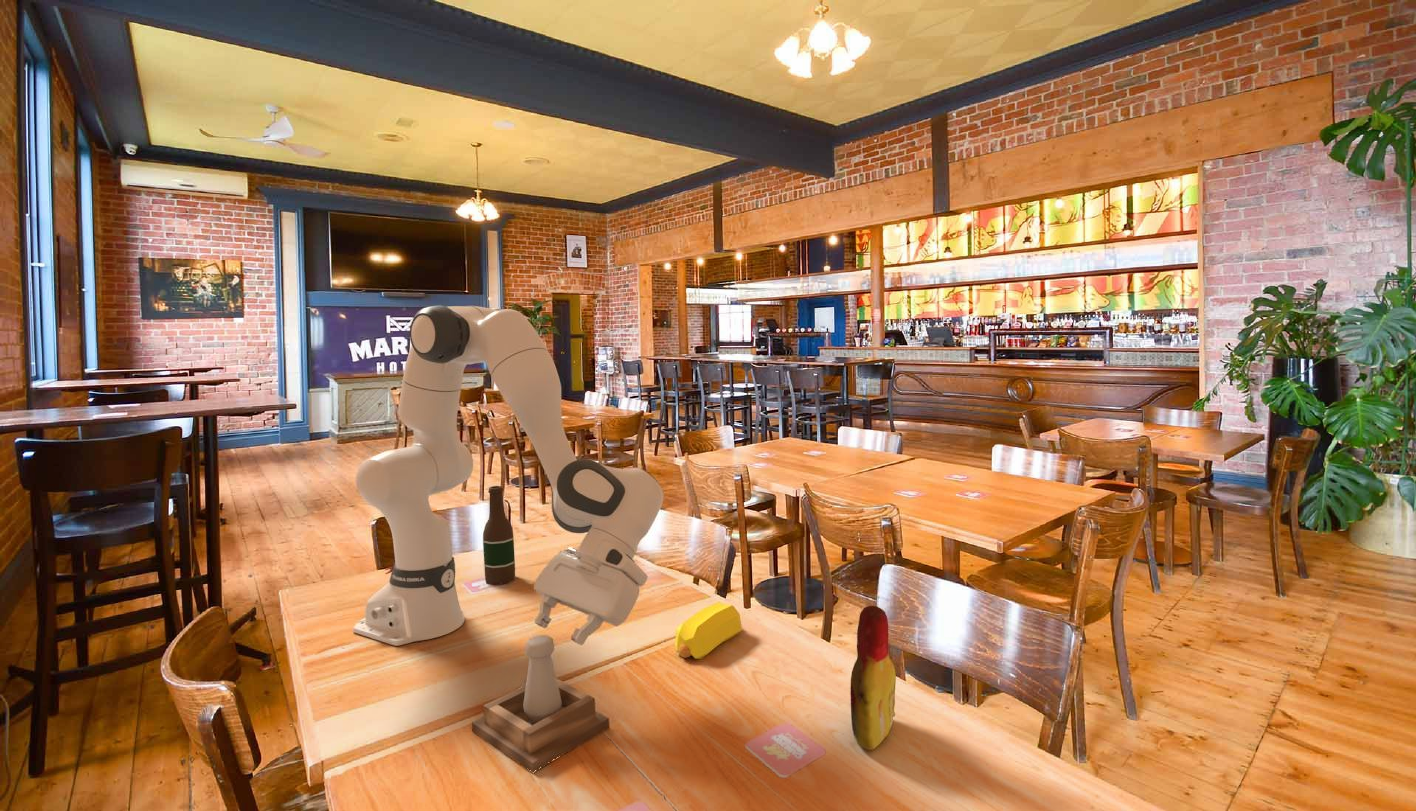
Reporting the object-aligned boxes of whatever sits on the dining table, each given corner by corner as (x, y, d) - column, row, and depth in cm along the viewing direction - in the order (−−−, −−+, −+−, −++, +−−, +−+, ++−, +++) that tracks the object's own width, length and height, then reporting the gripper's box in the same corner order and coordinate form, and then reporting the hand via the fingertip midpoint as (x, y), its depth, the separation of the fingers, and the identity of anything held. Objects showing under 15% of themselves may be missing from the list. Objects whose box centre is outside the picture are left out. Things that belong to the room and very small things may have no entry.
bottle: (883, 762, 94) (884, 626, 92) (839, 750, 96) (839, 618, 94) (901, 719, 104) (902, 595, 102) (860, 709, 107) (860, 589, 105)
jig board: (472, 731, 103) (470, 703, 103) (547, 693, 114) (545, 668, 114) (533, 772, 93) (531, 742, 93) (609, 727, 104) (608, 699, 103)
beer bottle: (493, 573, 173) (488, 483, 171) (521, 574, 172) (516, 483, 170) (478, 584, 166) (473, 490, 163) (508, 585, 165) (503, 490, 162)
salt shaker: (554, 730, 100) (550, 648, 99) (518, 728, 101) (513, 646, 100) (567, 709, 106) (563, 630, 105) (532, 707, 107) (528, 629, 106)
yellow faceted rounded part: (665, 657, 127) (698, 668, 122) (664, 623, 126) (697, 633, 121) (719, 622, 141) (750, 631, 137) (718, 592, 140) (749, 600, 136)
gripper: (553, 536, 116) (507, 607, 110) (634, 560, 103) (586, 643, 97) (575, 554, 120) (531, 624, 114) (655, 580, 107) (610, 661, 101)
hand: (557, 633), depth 105 cm, fingers open, 8 cm apart
